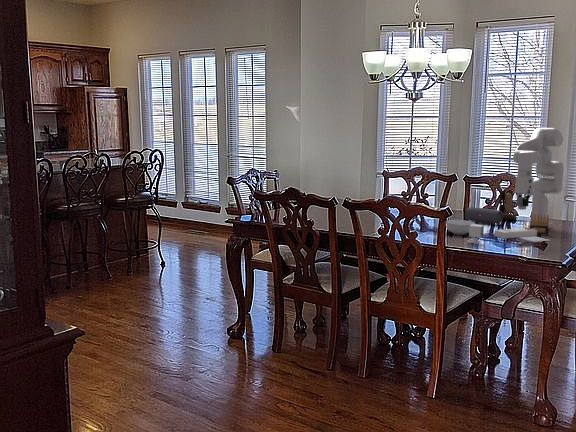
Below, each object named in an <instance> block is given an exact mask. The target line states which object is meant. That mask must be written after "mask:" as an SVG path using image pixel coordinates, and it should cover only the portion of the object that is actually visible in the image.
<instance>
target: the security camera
mask: <svg viewBox="0 0 576 432" xmlns="http://www.w3.org/2000/svg"><path fill="white" fill-rule="evenodd" d="M484 225H485V224H477V223H475V224H472V225H470V227H469V233H468V237H469V239H468V240H467V242H466V243H467V244H471V243H474V245H478V244H480V243H481V240H480V239H481V238H483V236H484V228H485V226H484ZM477 238H480V239H477Z"/></svg>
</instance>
